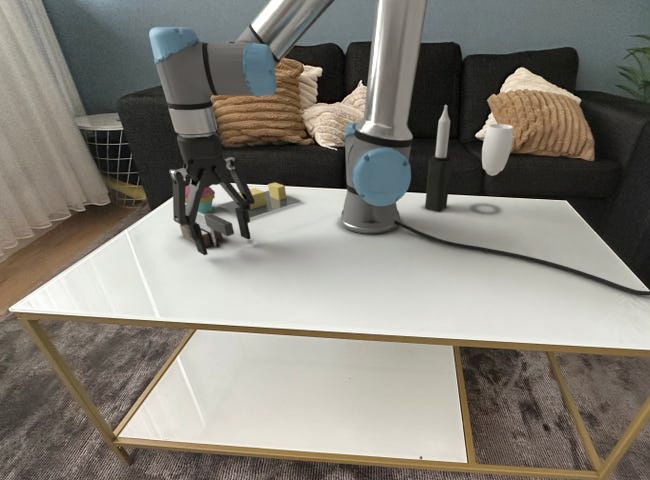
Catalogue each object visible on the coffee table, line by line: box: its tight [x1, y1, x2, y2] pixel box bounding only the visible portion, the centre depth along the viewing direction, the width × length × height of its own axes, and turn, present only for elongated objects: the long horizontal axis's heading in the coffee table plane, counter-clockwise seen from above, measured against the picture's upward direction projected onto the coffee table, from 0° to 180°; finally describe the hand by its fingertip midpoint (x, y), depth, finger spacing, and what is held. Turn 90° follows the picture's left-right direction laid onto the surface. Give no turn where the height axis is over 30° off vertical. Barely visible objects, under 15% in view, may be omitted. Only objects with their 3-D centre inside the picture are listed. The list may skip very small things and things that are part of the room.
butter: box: [238, 187, 267, 210], centre depth 111 cm, size 4×6×4 cm
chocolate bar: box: [179, 224, 223, 248], centre depth 95 cm, size 9×5×3 cm, turn 49°
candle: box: [424, 104, 453, 212], centre depth 107 cm, size 5×5×25 cm
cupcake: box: [185, 184, 216, 214], centre depth 106 cm, size 9×8×12 cm
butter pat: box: [267, 182, 287, 200], centre depth 116 cm, size 4×2×4 cm, turn 49°
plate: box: [218, 190, 302, 219], centre depth 114 cm, size 14×18×1 cm
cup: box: [481, 123, 514, 177], centre depth 108 cm, size 7×7×21 cm
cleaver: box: [195, 211, 235, 248], centre depth 92 cm, size 19×2×8 cm, turn 49°
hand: (225, 244), depth 90 cm, fingers open, 10 cm apart
